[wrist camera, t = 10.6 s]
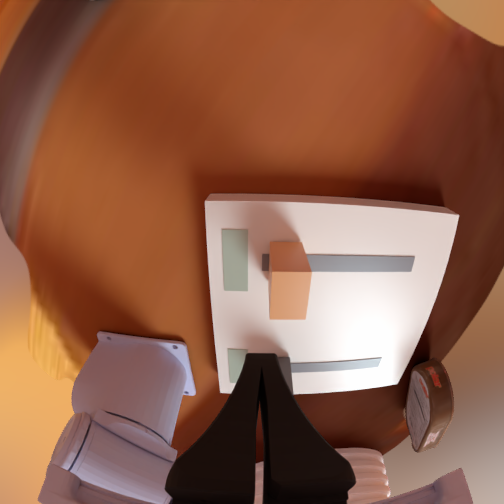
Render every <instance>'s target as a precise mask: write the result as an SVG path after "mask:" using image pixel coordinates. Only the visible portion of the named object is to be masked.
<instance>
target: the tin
mask: <svg viewBox="0 0 504 504" xmlns="http://www.w3.org/2000/svg"><path fill="white" fill-rule="evenodd" d="M453 412H454V397H453V391H452V386H451V382H450V379H449V376H448V374H447V371H446V369H445V367H444V366H443V364H442V363H441V362H440V361H439V360H438V359H437V358H432V359H430V360H429V361H426V362H423V363H421V364H418V365H416V366H415V367H413V369H412V371H411V376H410V382H409V388H408V393H407V399H406V406H405V413H406V423H407V427H408V429H409V432H410V436H411V440H412V447H413V449H414V451H415V452H423V451H426V450H428V449H431V448H435V447H436V446H437V445H438V444H439V442H440V440H441V438H442V437H443V435H444V433H445V431H446V430H447V428H448V426H449V425H450V423H451V421H452V418H453Z"/></svg>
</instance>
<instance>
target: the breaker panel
mask: <svg viewBox="0 0 504 504" xmlns="http://www.w3.org/2000/svg"><path fill="white" fill-rule="evenodd" d="M205 218H206V237H207V253H208V268H209V282H210V295H211V307H212V318H213V329H214V339H215V349H216V358H217V367H218V376H219V384H220V392H221V393H232V391H233V389H234V387H235V385H236V382H237V380H238V378H239V376H240V373H241V370H242V368H243V364H244V361H245V356H246V354H247V353H275V354H276V355H277V357H290V363H291V373H292V383H293V394H311V393H327V392H340V391H350V390H360V389H368V388H375V387H382V386H389V385H395V384H398V382H399V380H400V378H401V376H402V374H403V372H404V370H405V369H406V367H407V365H408V363H409V360H410V358H411V356H412V354H413V352H414V350H415V348H416V346H417V344H418V341H419V339H420V337H421V334H422V332H423V330H424V327H425V325H426V323H427V320H428V318H429V315H430V313H431V310H432V307H433V305H434V302H435V299H436V296H437V294H438V291H439V288H440V285H441V282H442V279H443V275H444V272H445V269H446V266H447V262H448V259H449V255H450V252H451V248H452V244H453V240H454V236H455V232H456V227H457V223H458V218H459V215H458V214H456V213H455V212H453V211H451V210H449V209H448V208H446V207H440V206H432V205H424V204H415V203H405V202H395V201H385V200H373V199H360V198H346V197H330V196H311V195H286V194H210V195H209V196H208V197H207V199H206V200H205ZM270 242H302V244H303V247H304V250H305V253H306V256H307V259H308V262H309V265H310V268H311V271H312V276H311V284H310V292H309V299H308V306H307V313H306V320H270V318H269V292H268V276H269V250H270Z"/></svg>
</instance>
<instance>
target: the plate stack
mask: <svg viewBox="0 0 504 504" xmlns="http://www.w3.org/2000/svg"><path fill="white" fill-rule="evenodd" d="M335 450H336V451H337V452H338V453H339V454H340V455H342V456H343V457H344V458H345V459H346V460H348V461H349V463H350V465H351V467H352V469H353V471H354V474H355V477H356V484H355V485H354V486H353V487H352V488H351V489H350V490H349V491H348V500H347V504H368V503H372V502H376V501H380V500H384V499H387V498H390V497H389V496H390V494H391V491H390V487H389V486H387V485H388V478H387V476H386V475H385V474H386V469H385V465H384V464H383V457H382V454H381V453H380V452H378V451H376V450H373V449H367V448H340V449H335ZM262 500H263V462H259V463H256V472H255V500H254V504H262Z"/></svg>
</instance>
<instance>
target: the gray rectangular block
mask: <svg viewBox="0 0 504 504" xmlns="http://www.w3.org/2000/svg"><path fill="white" fill-rule="evenodd" d="M278 361H279V365H280V368H281V370H282V373H283V375H284V378H285V380H286V382H287V384H288V386H289V388H290V391H291V392H292V394H293V383H292V373H291V363H290V357H278Z"/></svg>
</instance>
